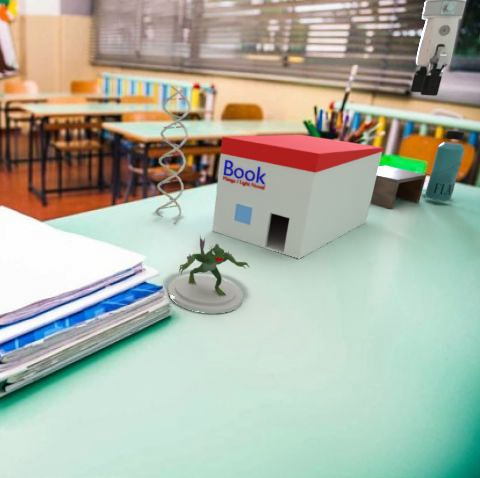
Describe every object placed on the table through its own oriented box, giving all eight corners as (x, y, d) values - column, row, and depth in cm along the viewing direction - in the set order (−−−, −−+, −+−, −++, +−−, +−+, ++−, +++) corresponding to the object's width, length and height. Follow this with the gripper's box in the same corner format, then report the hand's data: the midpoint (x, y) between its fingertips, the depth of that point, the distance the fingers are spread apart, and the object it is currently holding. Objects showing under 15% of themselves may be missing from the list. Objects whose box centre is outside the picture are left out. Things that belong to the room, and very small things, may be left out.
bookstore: (211, 231, 109) (221, 136, 102) (287, 202, 133) (300, 124, 125) (298, 260, 96) (318, 153, 88) (366, 222, 119) (386, 136, 111)
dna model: (186, 224, 113) (199, 88, 102) (161, 226, 111) (171, 88, 100) (173, 215, 119) (183, 85, 108) (149, 217, 117) (157, 85, 106)
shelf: (419, 202, 137) (426, 174, 134) (390, 209, 130) (397, 179, 128) (378, 192, 147) (385, 165, 144) (349, 197, 140) (355, 169, 137)
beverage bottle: (427, 204, 136) (447, 131, 129) (419, 198, 142) (438, 128, 135) (453, 207, 135) (475, 133, 127) (444, 200, 141) (464, 129, 133)
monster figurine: (181, 317, 74) (187, 254, 70) (159, 281, 85) (163, 225, 81) (255, 311, 76) (264, 250, 72) (224, 277, 87) (231, 223, 83)
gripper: (476, 8, 98) (453, 97, 104) (450, 14, 113) (431, 91, 120) (434, 8, 100) (413, 95, 106) (414, 14, 115) (397, 90, 122)
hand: (423, 93), depth 113 cm, fingers open, 9 cm apart
